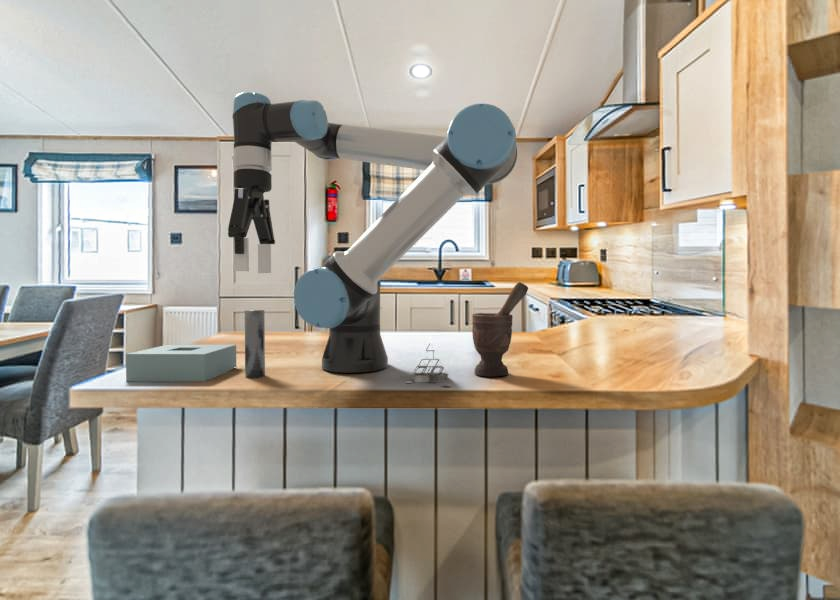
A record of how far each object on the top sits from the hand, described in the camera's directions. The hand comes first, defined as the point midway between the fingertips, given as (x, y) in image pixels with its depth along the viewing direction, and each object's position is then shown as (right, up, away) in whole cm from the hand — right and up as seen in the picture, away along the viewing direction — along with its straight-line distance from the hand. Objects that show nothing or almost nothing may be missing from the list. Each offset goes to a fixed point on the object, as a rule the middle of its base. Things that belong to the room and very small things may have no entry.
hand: (253, 272), depth 104 cm
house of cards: (+37, -23, -5) cm, 43 cm away
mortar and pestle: (+52, -22, +2) cm, 57 cm away
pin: (0, -22, +1) cm, 22 cm away
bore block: (-16, -22, +3) cm, 27 cm away
